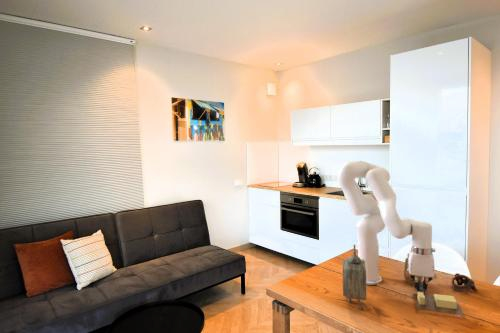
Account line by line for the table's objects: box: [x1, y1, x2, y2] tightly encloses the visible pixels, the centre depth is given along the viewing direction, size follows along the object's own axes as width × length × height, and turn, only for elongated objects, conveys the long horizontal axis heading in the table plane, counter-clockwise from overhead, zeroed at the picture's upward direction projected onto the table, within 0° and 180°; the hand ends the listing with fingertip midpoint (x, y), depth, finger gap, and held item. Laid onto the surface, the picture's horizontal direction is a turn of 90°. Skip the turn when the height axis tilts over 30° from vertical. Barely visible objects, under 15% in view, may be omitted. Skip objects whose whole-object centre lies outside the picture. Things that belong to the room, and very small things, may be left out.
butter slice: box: [417, 291, 425, 305], centre depth 128 cm, size 2×5×3 cm, turn 160°
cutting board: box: [411, 292, 465, 317], centre depth 126 cm, size 16×14×1 cm
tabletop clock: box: [342, 244, 367, 310], centre depth 131 cm, size 14×9×25 cm, turn 163°
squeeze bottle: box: [403, 247, 424, 286], centre depth 147 cm, size 8×8×18 cm
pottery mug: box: [451, 272, 478, 293], centre depth 139 cm, size 12×10×8 cm
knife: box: [417, 281, 427, 306], centre depth 132 cm, size 2×18×3 cm, turn 159°
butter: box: [433, 293, 458, 309], centre depth 125 cm, size 7×5×3 cm
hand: (420, 290), depth 136 cm, fingers closed on knife, 2 cm apart
